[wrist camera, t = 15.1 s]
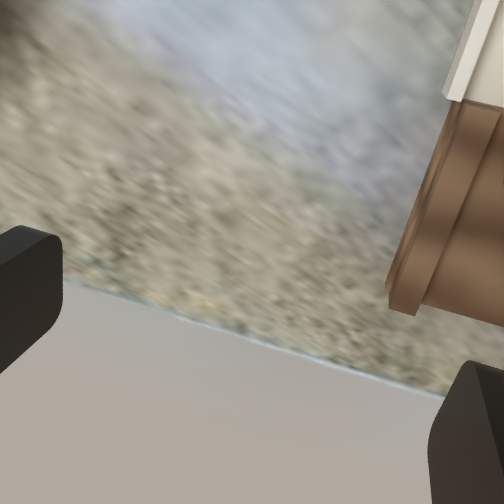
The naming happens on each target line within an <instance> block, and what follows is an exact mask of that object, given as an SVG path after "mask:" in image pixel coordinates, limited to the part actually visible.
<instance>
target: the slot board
mask: <svg viewBox="0 0 504 504" xmlns="http://www.w3.org/2000/svg"><path fill="white" fill-rule="evenodd" d="M503 179H504V108H503V107H499V106H494V105H490V104H486V103H481V102H477V101H472V100H468V99H463V98H462V101H461V102H458V101H454V100H453V101H452V104H451V107H450V110H449V112H448V115H447V118H446V120H445V123H444V126H443V128H442V131H441V134H440V136H439V139H438V142H437V145H436V147H435V150H434V153H433V155H432V158H431V161H430V163H429V166H428V169H427V172H426V174H425V177H424V180H423V182H422V185H421V188H420V190H419V193H418V196H417V198H416V201H415V204H414V207H413V209H412V212H411V215H410V217H409V220H408V223H407V225H406V228H405V231H404V234H403V236H402V239H401V242H400V244H399V247H398V250H397V252H396V255H395V258H394V260H393V263H392V266H391V269H390V271H389V274H388V277H387V279H386V282H385V293H387V294H389V309H392V310H395V311H399V312H402V313H406V314H409V315H412V316H415V315H416V312H417V310H418V308H419V305H420V303H422V304H425V305H429V306H432V307H436V308H439V309H443V310H446V311H449V312H453V313H456V314H460V315H463V316H467V317H470V318H474V319H477V320H481V321H484V322H488V323H491V324H495V325H498V326H502V327H504V186H503Z"/></svg>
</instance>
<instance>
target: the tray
mask: <svg viewBox="0 0 504 504" xmlns="http://www.w3.org/2000/svg"><path fill="white" fill-rule="evenodd" d="M442 94H443V95H444V96H445V98H446V99H449V100H454V101H458V102H461V101H462V98H463V99H468V100H472V101H477V102H481V103H486V104H490V105H494V106H499V107H503V108H504V0H474V3H473V6H472V9H471V11H470V14H469V17H468V20H467V23H466V25H465V28H464V31H463V34H462V37H461V39H460V42H459V45H458V48H457V51H456V53H455V56H454V59H453V62H452V65H451V67H450V70H449V73H448V76H447V79H446V81H445V84H444V87H443V90H442Z"/></svg>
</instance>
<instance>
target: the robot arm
mask: <svg viewBox="0 0 504 504" xmlns="http://www.w3.org/2000/svg"><path fill="white" fill-rule="evenodd" d="M62 301H63V249H62V242H61V240H60V238H59V237H58V236H56V235H53V234H50V233H47V232H43V231H40V230H36V229H33V228H30V227H26V226H23V225H19V226H16V227H14V228H12V229H10V230H8V231H6V232H4V233H3V234H1V235H0V373H2V372H3V371H4V370H5V369H6V368H7V367H8V366H10V364H12V363H13V362H14V361H15V360H16V359H17V358H18V357H19V356H21V355H22V354H23V353H24V352H25V351H26V350H27V349H28V348H29V347H30V346H32V345H33V344H34V343H35V342H36V341H37V340H38V339H39V338H41V337H42V336H43V335H44V334H45V333H46V332H47V331H48V330H49V329H50V328H51V327H52V326H53V325H54V323H55V322H56V320H57V318H58V316H59V314H60V311H61V307H62ZM428 465H429V476H430V486H431V496H432V504H504V370H501V369H498V368H494V367H491V366H487V365H484V364H481V363H477V362H474V361H471V360H469V361H466V362H465V363H464V364H463V365H462V367H461V369H460V370H459V372H458V374H457V376H456V378H455V380H454V382H453V384H452V386H451V388H450V390H449V392H448V394H447V396H446V398H445V400H444V402H443V404H442V406H441V408H440V410H439V412H438V414H437V416H436V418H435V420H434V422H433V424H432V427H431V431H430V435H429V440H428Z"/></svg>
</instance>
